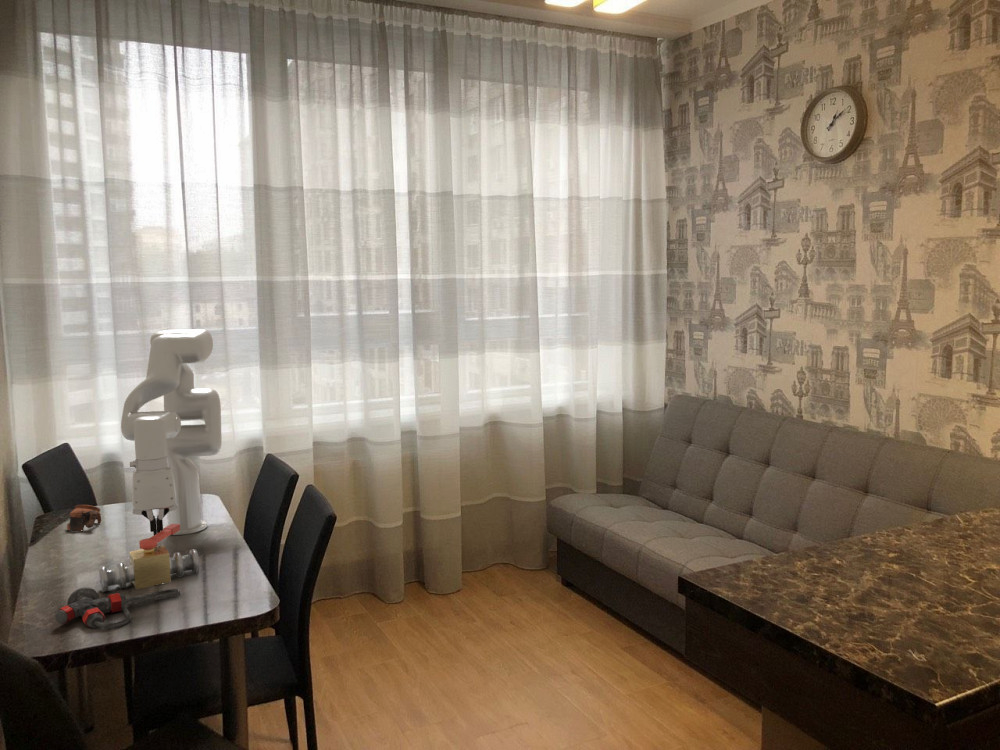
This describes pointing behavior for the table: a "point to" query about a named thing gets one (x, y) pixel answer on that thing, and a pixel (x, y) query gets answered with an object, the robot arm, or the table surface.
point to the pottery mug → (83, 517)
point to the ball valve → (149, 568)
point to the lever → (159, 536)
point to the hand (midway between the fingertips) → (157, 533)
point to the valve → (104, 606)
